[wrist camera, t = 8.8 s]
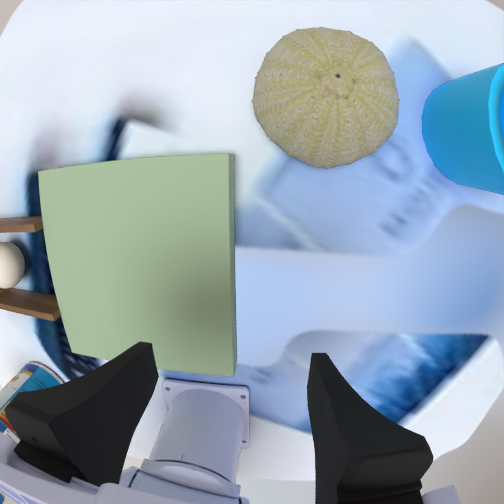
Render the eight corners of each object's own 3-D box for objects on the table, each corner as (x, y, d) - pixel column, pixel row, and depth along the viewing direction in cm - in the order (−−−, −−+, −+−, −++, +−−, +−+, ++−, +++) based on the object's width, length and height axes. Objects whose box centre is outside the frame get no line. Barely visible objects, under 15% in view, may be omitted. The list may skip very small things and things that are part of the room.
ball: (-14, 295, 20) (6, 269, 24) (17, 300, 21) (36, 273, 25) (-28, 255, 18) (-5, 232, 22) (4, 259, 19) (26, 234, 23)
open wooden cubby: (82, 331, 25) (42, 372, 19) (15, 316, 26) (-23, 346, 19) (60, 214, 22) (2, 236, 15) (-7, 219, 23) (-55, 237, 16)
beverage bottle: (82, 420, 30) (14, 531, 11) (34, 396, 30) (-38, 489, 11) (69, 374, 27) (-25, 499, 8) (19, 349, 28) (-76, 446, 9)
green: (237, 358, 24) (233, 376, 22) (84, 339, 25) (72, 352, 23) (234, 154, 20) (228, 153, 17) (56, 169, 21) (38, 171, 18)
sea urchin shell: (212, 112, 17) (269, 7, 10) (272, 72, 21) (326, -2, 14) (325, 208, 18) (423, 139, 11) (360, 147, 22) (430, 89, 15)
